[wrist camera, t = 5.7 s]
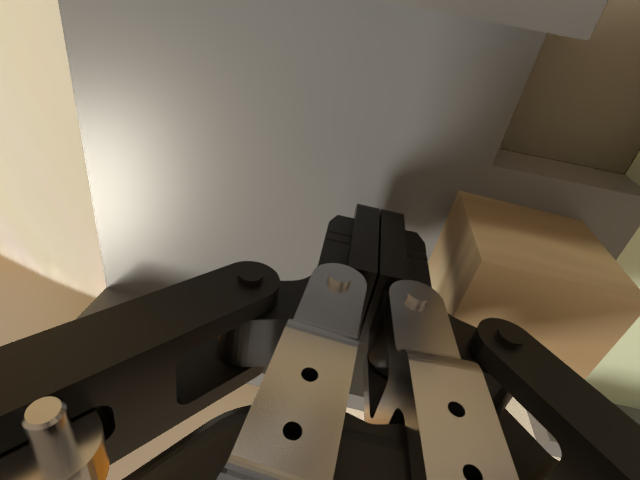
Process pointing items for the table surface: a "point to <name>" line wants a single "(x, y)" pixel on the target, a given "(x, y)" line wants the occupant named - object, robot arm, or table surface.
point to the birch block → (533, 277)
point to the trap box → (320, 136)
